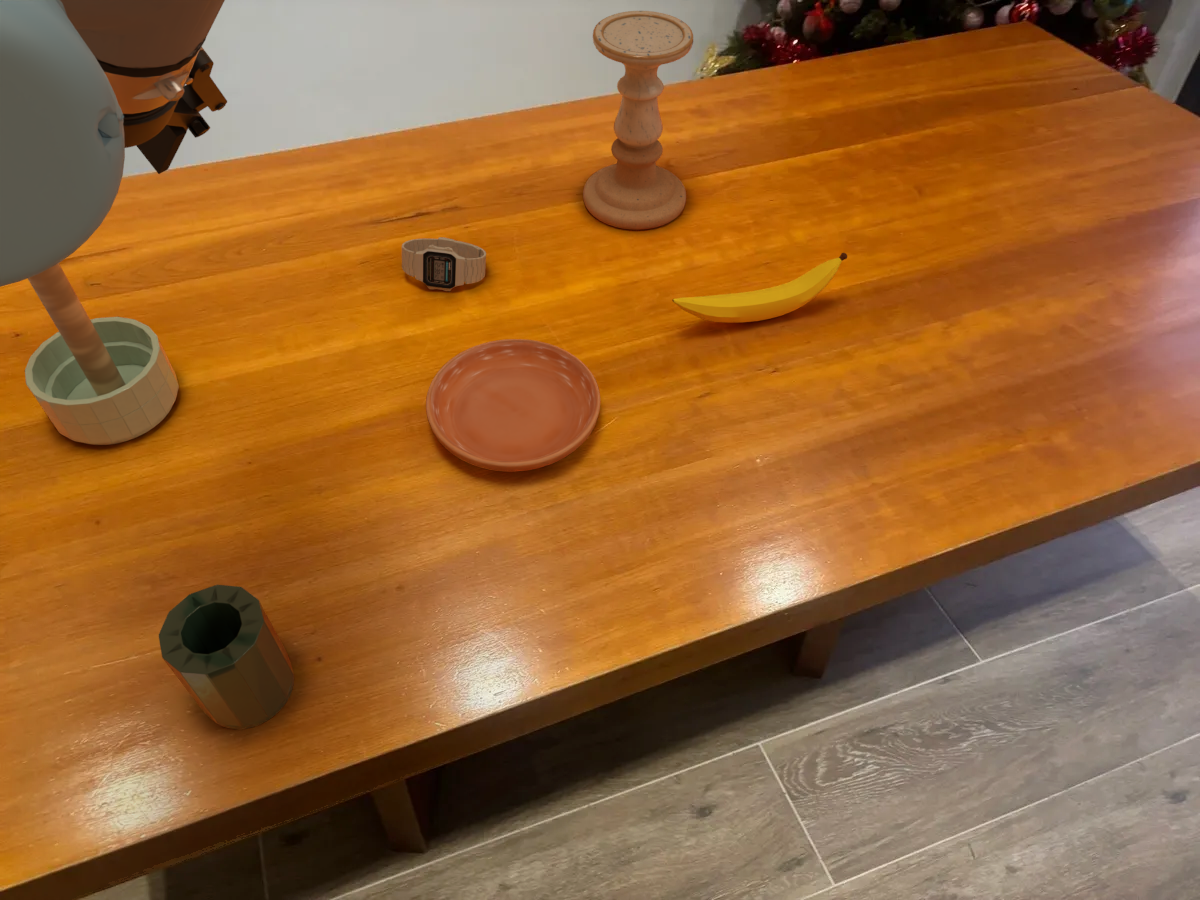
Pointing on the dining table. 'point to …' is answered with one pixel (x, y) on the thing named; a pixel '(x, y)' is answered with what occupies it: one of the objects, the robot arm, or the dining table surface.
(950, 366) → the dining table surface
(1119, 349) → the dining table surface
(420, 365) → the dining table surface
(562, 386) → the saucer
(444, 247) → the wristwatch
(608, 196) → the candle holder
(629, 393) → the dining table surface
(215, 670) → the holder
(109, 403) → the bowl
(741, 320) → the banana
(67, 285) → the stick
